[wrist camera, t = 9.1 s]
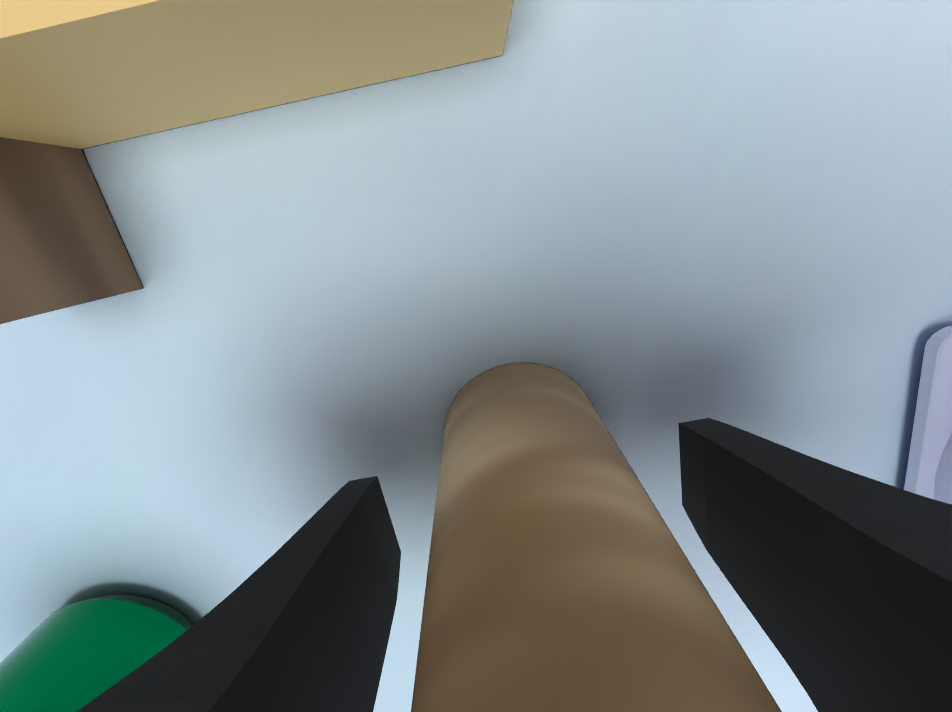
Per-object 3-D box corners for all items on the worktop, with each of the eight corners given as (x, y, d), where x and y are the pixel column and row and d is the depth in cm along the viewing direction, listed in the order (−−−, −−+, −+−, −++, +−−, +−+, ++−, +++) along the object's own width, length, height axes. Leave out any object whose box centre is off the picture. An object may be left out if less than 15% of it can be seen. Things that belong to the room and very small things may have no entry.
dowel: (586, 349, 11) (861, 682, 3) (603, 484, 12) (825, 950, 4) (429, 378, 11) (336, 758, 3) (461, 508, 12) (446, 993, 5)
